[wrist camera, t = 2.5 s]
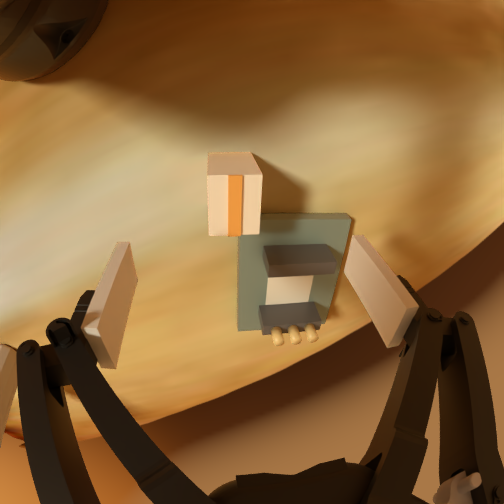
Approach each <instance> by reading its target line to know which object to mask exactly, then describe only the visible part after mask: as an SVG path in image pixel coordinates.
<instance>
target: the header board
mask: <svg viewBox="0 0 504 504" xmlns="http://www.w3.org/2000/svg"><path fill="white" fill-rule="evenodd" d="M351 220H352V219H351V218H350V217H349V216H348V215H347V214H346V213H260V229H259V234H250V235H241V236H238V275H237V327H238V331H251V330H262V335H270V334H272V339H273V343H274V345H275V346H281V345H283V344H284V338H283V335H282V333H289V336H290V340H291V343H292V344H294V345H295V344H299V343H300V342H301V341H302V339H301V336H300V333H299V332H302V331H305V333H306V336H307V339H308V341H309V342H310V343H313V342H315V341H317V340H318V335H317V333H316V330H319V329H320V326H321V324H325V322H326V318H327V315H328V312H329V308H330V305H331V301H332V297H333V294H334V290H335V286H336V283H337V279H338V275H339V271H340V267H341V263H342V259H343V255H344V251H345V246H346V242H347V238H348V233H349V229H350V224H351Z"/></svg>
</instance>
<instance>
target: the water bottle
mask: <svg viewBox="0 0 504 504" xmlns="http://www.w3.org/2000/svg"><path fill="white" fill-rule="evenodd" d="M16 353H17V352H16V351H15V350H14V349H13V348H11V347H9V346H7V345H5V344H0V447H1V442H2V437H3V434H4V430H5V426H6V422H7V418H8V415H9V411H10V408H11V405H12V401H13V398H14V395H15V392H16V389H17V386H18V385H17V365H16Z"/></svg>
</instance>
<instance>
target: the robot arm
mask: <svg viewBox="0 0 504 504" xmlns="http://www.w3.org/2000/svg"><path fill="white" fill-rule="evenodd" d="M107 3H108V0H0V79H1V80H5V81H23V80H31V79H36V78H39V77H42V76H44V75H47V74H49V73H51V72H53V71H54V70H56V69H58V68H59V67H61V66H62V65H63V64H65V63H66V62H67V61H68V60H70V59H71V58H72V57H73V56H74V55H75V54H76V53H77V52H78V51H79V50H80V49H81V48H82V47H83V45H84V44H85V43H86V42H87V41H88V39H89V38H90V37H91V35H92V34H93V32H94V31H95V29H96V27H97V26H98V24H99V22H100V20H101V18H102V16H103V14H104V12H105V9H106V6H107ZM344 273H345V275H346V277H347V278H348V280H349V282H350V283H351V285H352V287H353V288H354V290H355V292H356V293H357V295H358V297H359V298H360V300H361V302H362V304H363V305H364V307H365V309H366V311H367V312H368V314H369V316H370V318H371V319H372V321H373V323H374V325H375V326H376V328H377V330H378V332H379V334H380V336H381V337H382V339H383V341H384V343H385V345H386V347H387V348H389V347H394V346H398V345H399V344H400V343H401V341H402V339H403V337H404V339H405V341H406V344H405V346H404V348H403V350H402V351H401V353H400V355H399V357H401V359H400V363H399V366H398V370H397V373H396V376H395V380H394V383H393V386H392V389H391V392H390V395H389V398H388V400H387V403H386V406H385V409H384V412H383V414H382V417H381V420H380V422H379V425H378V427H377V429H376V432H375V434H374V437H373V439H372V442H371V444H370V446H369V448H368V450H367V452H366V454H365V455H364V457H363V458H362V460H361V461H360V463H359V464H356V463H348V462H346V461H345V458H341V459H337V460H333V461H329V462H325V463H320V464H318V465H316V466H313V467H311V468H309V469H307V470H305V471H302V472H300V473H298V474H295V475H283V474H271V473H258V474H248V475H236V480H234V481H231V482H228V483H226V484H224V485H222V486H220V487H218V488H217V489H216V490H214V491H213V492H212V493H211V494H210V495H209V496H207V495H206V494H205V493H204V492H203V491H202V490H201V489H199V488H198V487H197V486H196V485H195V484H194V483H193V482H192V481H191V480H190V479H189V478H188V477H187V476H186V475H185V474H184V473H183V472H182V471H181V470H180V469H179V468H178V467H177V466H176V465H175V464H174V463H173V462H171V461H170V460H169V459H168V458H167V457H166V456H165V455H164V453H163V452H162V451H161V450H160V449H159V448H158V447H157V446H156V445H155V443H154V442H153V441H152V440H151V439H150V438H149V437H148V435H147V434H146V433H145V432H144V431H143V429H142V428H141V427H140V426H139V424H138V423H137V422H136V421H135V419H134V418H133V417H132V416H131V414H130V413H129V412H128V410H127V409H126V408H125V406H124V405H123V404H122V402H121V401H120V400H119V398H118V397H117V396H116V394H115V393H114V391H113V390H112V388H111V387H110V386H109V384H108V383H107V381H106V380H105V378H104V377H103V375H102V374H101V372H100V371H99V369H98V368H97V366H96V365H97V361H98V363H99V365H100V366H101V368H108V369H116V367H117V362H118V357H119V353H120V348H121V344H122V339H123V335H124V331H125V327H126V323H127V319H128V315H129V311H130V307H131V303H132V300H133V296H134V292H135V289H136V285H137V282H138V279H137V275H136V270H135V266H134V261H133V256H132V251H131V246H130V242H117V244H116V246H115V248H114V250H113V252H112V254H111V257H110V259H109V261H108V263H107V265H106V267H105V270H104V272H103V274H102V276H101V279H100V281H99V283H98V286H97V288H96V290H87V291H86V292H85V293H84V294H83V295H82V296H81V297H80V299H79V301H78V303H77V306H76V308H75V312H74V313H73V315H72V317H71V320H69V319H67V318H58V319H55V320H53V321H52V322H51V323H50V324H49V325H48V326H47V329H46V336H47V337H48V339H49V341H50V343H51V344H49V345H45V346H39V344H38V343H37V342H36V341H35V340H27V341H25V342H23V343H22V344H21V345H20V346H19V347H18V349H17V353H16V365H17V385H18V398H19V408H20V416H21V423H22V430H23V436H24V441H25V447H26V451H27V456H28V461H29V465H30V469H31V473H32V477H33V480H34V484H35V488H36V491H37V494H38V497H39V501H40V503H41V504H101V503H100V501H99V499H98V497H97V495H96V492H95V490H94V487H93V485H92V482H91V480H90V477H89V475H88V472H87V469H86V466H85V464H84V461H83V458H82V455H81V452H80V449H79V446H78V443H77V439H76V436H75V433H74V429H73V425H72V422H71V418H70V414H69V410H68V406H67V402H66V397H65V392H64V388H63V386H65V385H70V384H72V386H73V388H74V390H75V392H76V394H77V395H78V397H79V399H80V401H81V402H82V404H83V406H84V408H85V409H86V411H87V413H88V414H89V416H90V417H91V419H92V421H93V422H94V424H95V425H96V427H97V429H98V430H99V432H100V433H101V435H102V436H103V438H104V439H105V440H106V442H107V443H108V445H109V446H110V448H111V449H112V450H113V452H114V453H115V455H116V456H117V457H118V458H119V460H120V461H121V462H122V464H123V465H124V466H125V468H126V469H127V470H128V471H129V473H130V474H131V475H132V476H133V478H134V479H135V480H136V482H137V483H138V486H139V487H140V488H141V490H142V491H143V492H144V493H145V494H146V496H147V497H148V498H149V499H150V500H151V501H152V502H153V503H154V504H429V503H427V502H425V501H423V500H422V499H420V498H418V497H416V496H415V495H413V494H412V491H413V489H414V485H415V483H416V481H417V478H418V475H419V472H420V469H421V466H422V463H423V460H424V456H425V453H426V449H427V446H428V439H426V438H425V432H426V428H427V424H428V420H429V416H430V411H431V407H432V402H433V398H434V393H435V388H436V382H437V377H438V390H439V408H440V456H439V457H440V458H439V479H440V486H439V488H438V490H437V493H436V494H435V495H434V497H433V502H434V503H435V504H504V468H503V464H502V461H501V458H500V455H499V452H498V449H497V448H498V446H497V434H496V424H495V416H494V408H493V401H492V395H491V389H490V384H489V379H488V374H487V369H486V365H485V360H484V356H483V352H482V348H481V345H480V341H479V337H478V333H477V330H476V327H475V323H474V321H473V319H472V317H471V316H470V315H469V314H467V313H465V312H461V311H460V312H457V313H456V314H455V316H454V318H444V317H443V316H442V314H441V313H440V312H439V311H437V310H435V309H432V308H427V307H426V305H425V304H424V302H423V301H422V300H421V298H420V297H419V296H418V294H417V293H415V290H414V289H413V288H412V286H411V285H410V284H409V283H408V281H407V280H405V279H404V278H403V277H401V276H400V275H398V276H396V275H395V274H394V272H393V271H392V270H391V268H390V267H389V266H388V265H387V263H386V262H385V261H384V260H383V258H382V257H381V256H380V255H379V253H378V252H377V251H376V250H375V249H374V247H373V246H372V245H371V244H370V243H369V241H368V240H367V239H366V238H365V237H364V235H352V240H351V244H350V248H349V252H348V257H347V261H346V265H345V269H344ZM401 355H402V356H401Z"/></svg>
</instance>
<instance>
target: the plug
mask: <svg viewBox="0 0 504 504" xmlns="http://www.w3.org/2000/svg"><path fill="white" fill-rule="evenodd" d="M262 177H263V174H262V172H261V171H260V169H259V167H258V165H257V163H256V161H255V159H254V157H253V156H252V154H251V152H214V153H208V169H207V187H208V223H209V236H219V235H228V236H241V235H250V234H259V229H260V212H261V195H262Z"/></svg>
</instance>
